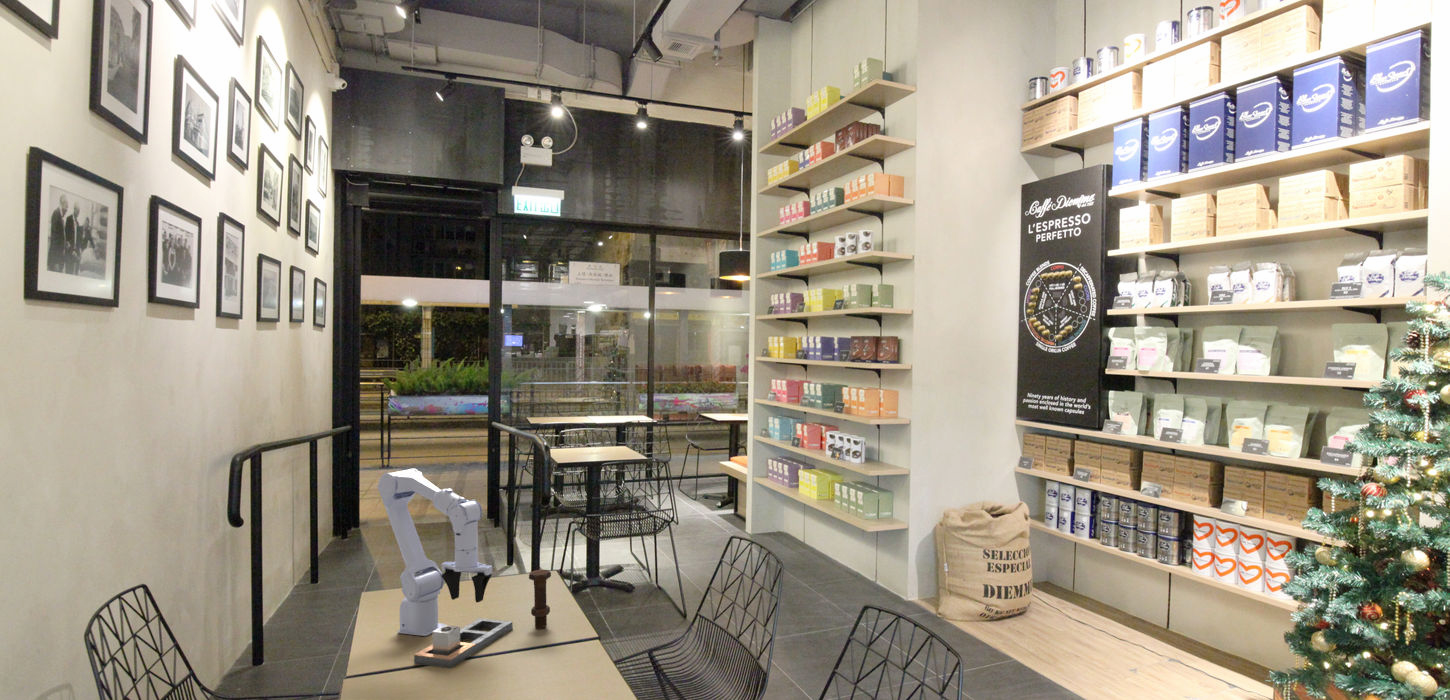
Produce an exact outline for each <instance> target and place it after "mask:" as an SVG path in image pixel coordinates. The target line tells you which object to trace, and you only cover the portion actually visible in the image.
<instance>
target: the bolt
mask: <svg viewBox="0 0 1450 700" xmlns="http://www.w3.org/2000/svg"><path fill="white" fill-rule="evenodd" d="M551 576H552V572H551V571H550V570H549V569H537V570H536V569H535V570H532V571H530V573H529V574H528V579H529V580H530V581H531V580H532V581H533V590H534V591H533V592H534V597H533V598H534V606H532V608H531V609H530V610H531V612H530V614H531V615H532V616H533V617H534V628H536V629H545V628H546V627H547V625H548V623H547V622H548V618H547V616H548V615H549V614H550V612H551V607H550V606H549V605H547V580H548V579H550V578H551Z"/></svg>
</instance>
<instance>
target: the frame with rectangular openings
mask: <svg viewBox="0 0 1450 700" xmlns="http://www.w3.org/2000/svg"><path fill="white" fill-rule="evenodd" d="M513 627H514V626H513V621H508V620H500V619H491V618H490V619H489V618H481V617H479V618H477V619H476V620H474V621H472V622H470V623H469V624H467V625H465V626H463V627H462V628H461V627H460V649H458V650H457V651H455V652H453V653H452V654H450V655H448V656H445V655H437V654H433V643H432V644H430V645H429V646H426V647H425V648H423V649H421V650H420V651H418V652H416V653H415V654H414V655H413V656H414V657H413V658H414V659H413V660H414V661H413V664H414V665H421V666H422V665H423V666H429V667H430V666H431V667H436V668H437V667H438V668H443V669H444V668H445V669H452V668H454V667H455V666H457V665H458V664H461V663H462V662H463V661H465V660H467V659H468V658H470V657H471V656H473V655H474V654H476V653H478V652H479V651H480V650H483V649H484V648H485V647H487V646H488V645H489V644H492V643H494V642H495V641H497V640H498V639H499V638H501V637H503V636H504V635H505V634H507V633H509V632H510V631H512V630H513ZM483 629H487V630H489V631H482V630H483ZM465 639H468V640H467V641H471V642H465V641H463V640H465ZM461 640H462V641H463V642H462V641H461ZM472 654H473V655H472ZM470 655H471V656H470ZM469 656H470V657H469ZM466 658H467V659H466Z"/></svg>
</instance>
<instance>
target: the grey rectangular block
mask: <svg viewBox="0 0 1450 700" xmlns="http://www.w3.org/2000/svg"><path fill="white" fill-rule="evenodd" d="M460 629H461V627H460V626H455V625H449V624H448V625H447V624H445V625H444V626H442V627H440V628H438V629H437V630H435V631H433V633H432V644H433V654H437V655H445V656H448V655H450V654H452V653H453V652H455V651H457V650H458V649H460V642H461V641H460Z"/></svg>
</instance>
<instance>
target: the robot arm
mask: <svg viewBox="0 0 1450 700" xmlns="http://www.w3.org/2000/svg"><path fill="white" fill-rule="evenodd" d="M376 486H377V491H378V493H379V496H380V498H381V501H382V503H383V506H384V509H385V513H386V515H387V518H388V521H389V523H390V526H391V529H392V531H393V534H394V537H395V541H396V542H397V545H398V548H399V550H400V553H401V556H402V558H403V559H402V560H403V562H404V565H405V568H404V570H403V571H402V573H401V574H400V576H399V579H400V582H401V592H402V594H403V596H404V598H403V599H402V601H401V603H400V606H399V630H397V633H398V634H406V635H412V636H413V635H415V636H420V637H421V636H422V637H427V636H429V635H431V634H433V631H435V630H437V629H438V628H440V627H442V626H444V625H446V623H440V622H439V595H440V594H441V590H442V589H443V587H444V585H445V584H446V586H447V588H448V591H449V594H450V595H449V596H450V599H451V601H453V600H456V599H458V598H459V597H460V583H461V575H462V573H470V574H475V575H473V576H471V580H472V583H473V587H474V598H475V599H474V601H475V603H480V602H482V601H483V600H484V595H485V592H486V589H487V587H488V583H489V581H490V579H491V577H492V574H493V566H492V565H488V564H484V563H481V562H479V538H478V537H479V534H478V533H479V530H478V529H479V528H478V527H479V526H478V525H479V523H478V521H480V520H481V518H482V517H483V508H482V505H481V503H480V502H479V501H477V499H470V500H469V499H466V498H465V497H463V496H460V495H459V494H457V493H455V492H453V491H454V490H453V489H452V488H450V487H449V488H443V489H440V488H439V487H437V486H436V485H435V484H433V483H432V482H431V481H429V480H428V479H427V478H425V477H424V475H423V472H422V471H419V470H418V469H416V468H415V467H414V468H413V467H412V468H408V469H404V470H398V471H394V472H393V471H392V472H384V473H383V474H382V475H380V478H379V481H378V484H377V485H376ZM416 494H418V495H420V496H422V497H423V498H426V499H427V500H430V501H432V505H433V508H435V509H436V510H438V511H439V512H441V513H443V514H445V515H446V516H447V517H449V521H450V523H451V526H452V531H453V533H454V561H444V562H443V563H441V570H440V568H439V567H438V565H437V562H436V561H433V560H431V559H429V558H427V556H426V553H425V550H424V548H423V545H422V543H421V540H420V537H419V535H418V531H417V529H416V526H415V523H414V521H413V518H412V515H411V513H410V510H409V507H408V505H409V503H410V501H411V500H413V498H414V497H415V495H416ZM443 572H444V573H443Z"/></svg>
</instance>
